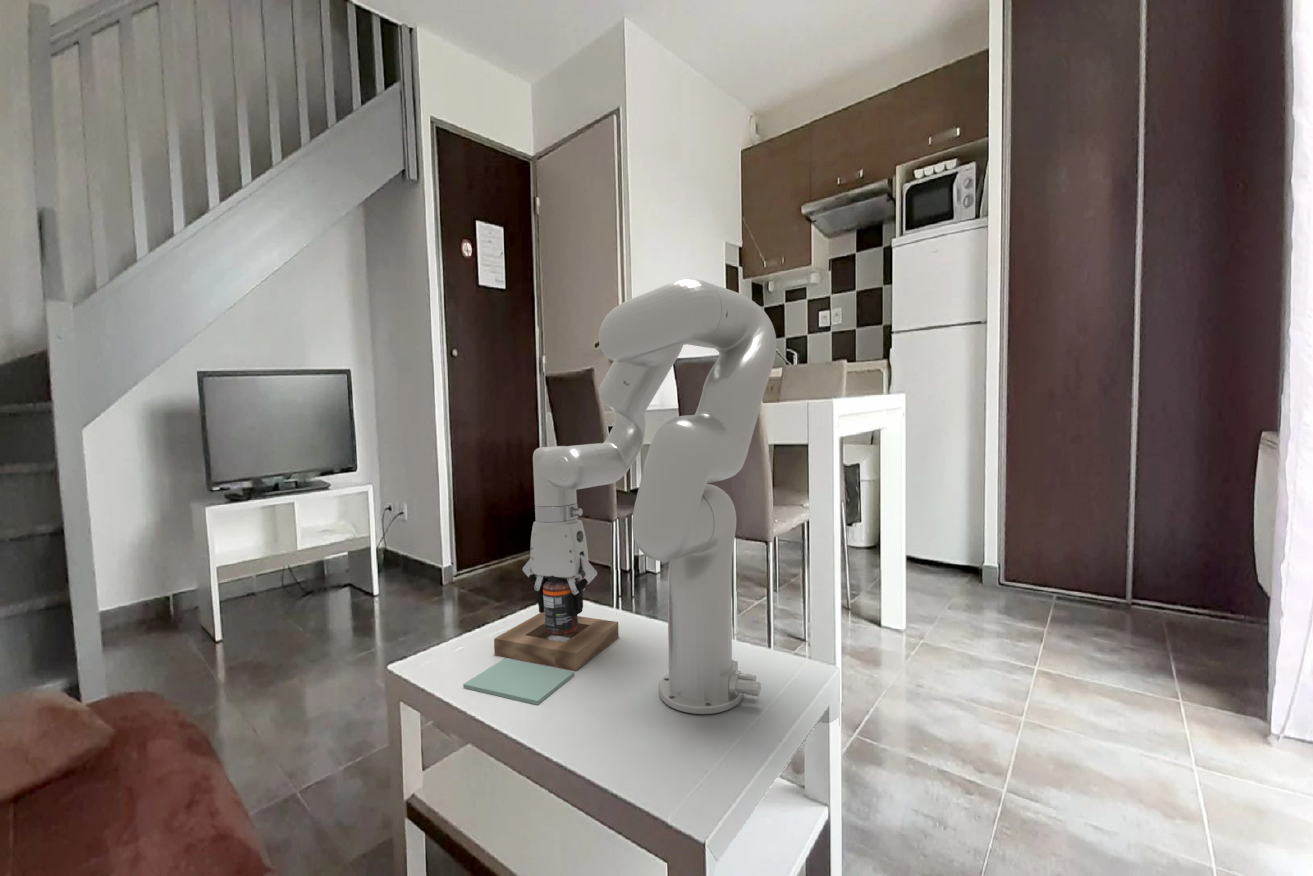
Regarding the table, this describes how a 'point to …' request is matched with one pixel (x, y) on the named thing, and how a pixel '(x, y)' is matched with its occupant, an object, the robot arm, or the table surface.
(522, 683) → the sage green mat
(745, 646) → the table surface
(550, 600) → the supplement bottle
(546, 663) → the walnut frame
